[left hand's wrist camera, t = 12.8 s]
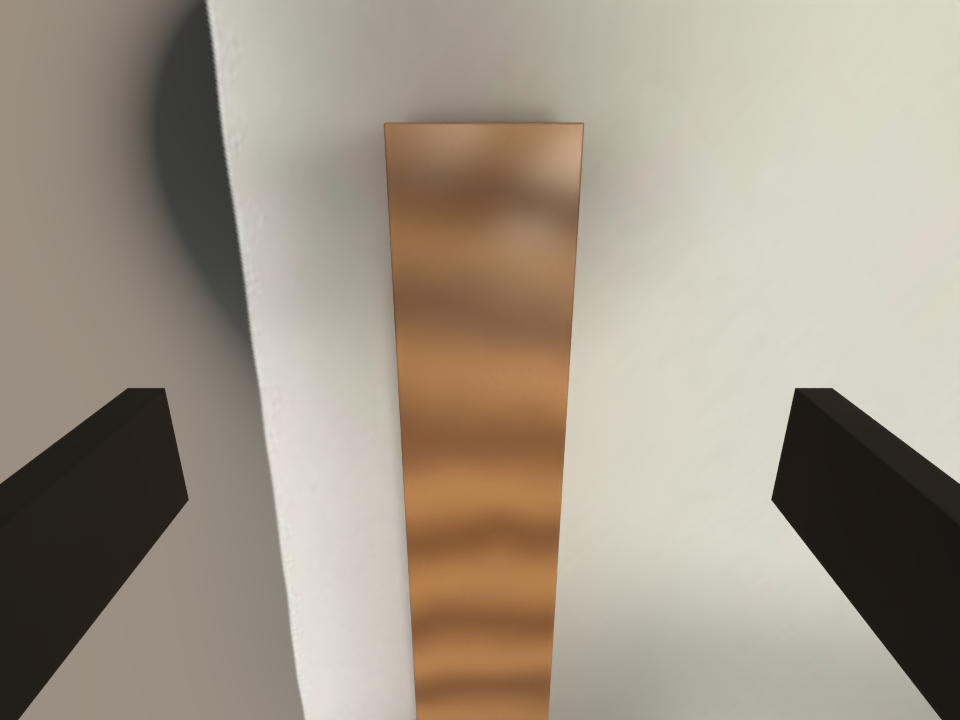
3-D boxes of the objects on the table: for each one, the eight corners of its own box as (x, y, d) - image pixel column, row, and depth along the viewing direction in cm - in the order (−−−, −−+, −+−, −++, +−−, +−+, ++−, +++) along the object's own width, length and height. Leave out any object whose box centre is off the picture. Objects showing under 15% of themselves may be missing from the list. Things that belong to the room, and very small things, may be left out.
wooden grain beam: (404, 122, 32) (383, 122, 25) (562, 122, 32) (584, 122, 25) (433, 791, 52) (426, 892, 45) (530, 791, 52) (537, 892, 45)
